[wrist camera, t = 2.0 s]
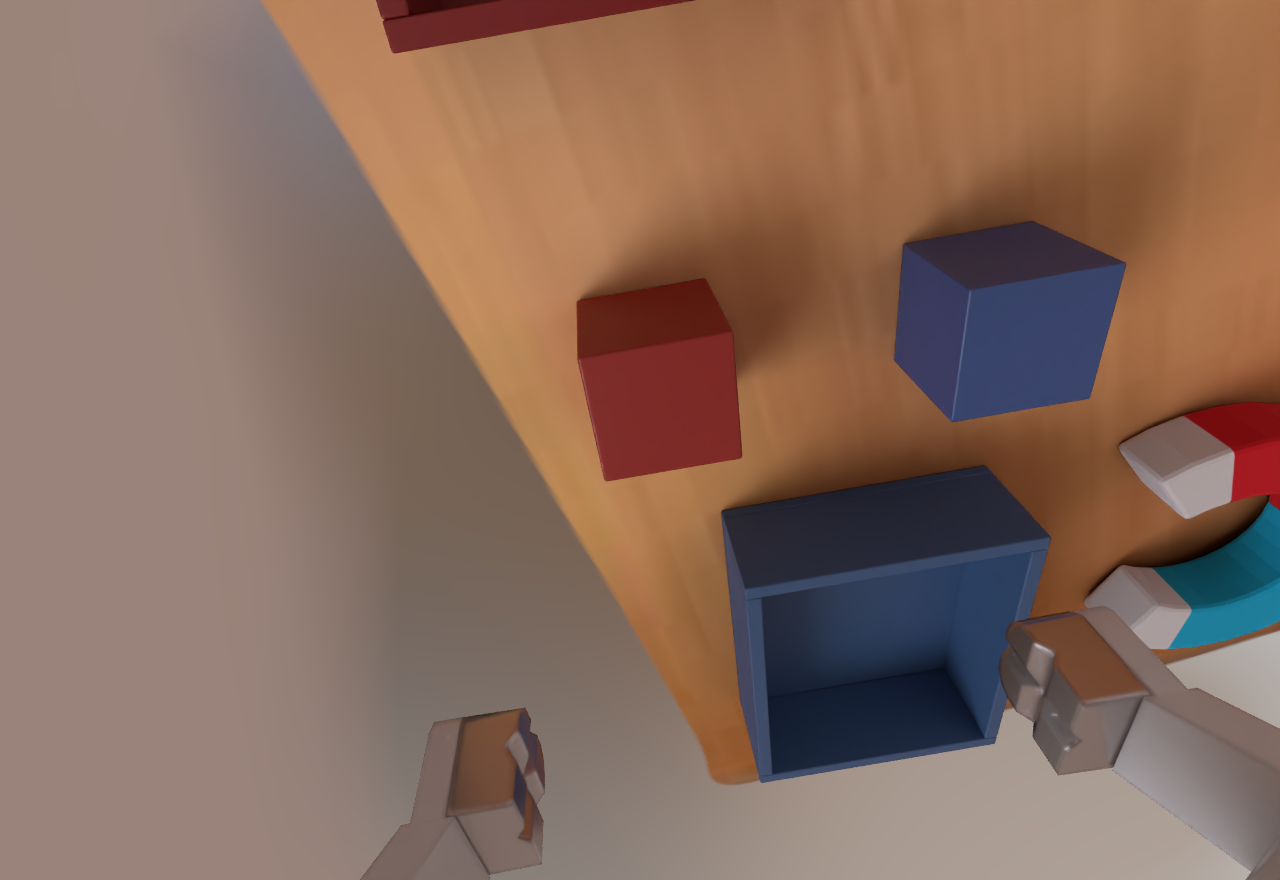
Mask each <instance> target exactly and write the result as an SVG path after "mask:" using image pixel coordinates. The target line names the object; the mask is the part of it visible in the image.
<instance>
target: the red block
mask: <svg viewBox="0 0 1280 880" xmlns="http://www.w3.org/2000/svg"><path fill="white" fill-rule="evenodd" d="M576 304H577V358H578V364H579V368H580V373H581V377H582V382H583V386H584V391H585V395H586V400H587V404H588V409H589V413H590V418H591V422H592V427H593V431H594V436H595V440H596V445H597V449H598V454H599V458H600V463H601V467H602V471H603V476H604V479H605V481H612V480H618V479H624V478H629V477H635V476H641V475H647V474H653V473H658V472H664V471H670V470H676V469H682V468H688V467H693V466H699V465H705V464H711V463H717V462H722V461H728V460H734V459H740V458H742V444H741V431H740V417H739V403H738V390H737V376H736V362H735V349H734V335H733V331H732V329H731V327H730V325H729V323H728V321H727V319H726V317H725V315H724V313H723V311H722V309H721V307H720V305H719V303H718V301H717V299H716V297H715V296H714V294H713V292H712V290H711V288H710V286H709V284H708V282H707V280H706V279H699V280H693V281H687V282H682V283H676V284H670V285H664V286H659V287H653V288H647V289H642V290H636V291H630V292H624V293H619V294H613V295H607V296H601V297H596V298H590V299H584V300H579V301H577V303H576Z"/></svg>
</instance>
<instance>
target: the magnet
mask: <svg viewBox="0 0 1280 880" xmlns="http://www.w3.org/2000/svg"><path fill="white" fill-rule="evenodd" d="M1119 450H1120V452H1121V453H1122V455H1123V456H1124V458H1125V459H1126V460H1127V462H1128V463H1129V465H1130V466H1131V467H1132V469H1133V470H1134V472H1135V473H1136V474H1137V476H1138V477H1139V479H1140V480H1141V481H1142V483H1144V484H1145V485H1146V486H1147V487H1148V488H1149V489H1150V490H1152V491H1153V492H1154V493H1155V494H1156V495H1157V496H1158V497H1160V498H1161V499H1162V500H1163V501H1164V502H1165V503H1166V504H1168V505H1169V506H1170V507H1171V508H1172V509H1173V510H1175V511H1176V512H1177V513H1178V514H1179V515H1180V516H1182V517H1184V518H1186V519H1189V518H1193V517H1195V516H1197V515H1199V514H1201V513H1203V512H1205V511H1207V510H1210V509H1213V508H1215V507H1218V506H1221V505H1224V504H1226V503H1229V502H1233V501H1237V500H1241V499H1245V498H1249V497H1253V496H1261V495H1269V494H1270V497H1269V501H1268V503H1267V505H1266V506H1265V508H1264V510H1263V512H1262V514H1261V515H1260V516H1259V517H1258V518H1257V519H1256V521H1255V522H1254V523H1253V524H1252V525H1251V526H1250V527H1249V528H1248V529H1247V530H1246V531H1245V532H1243V533H1242V534H1241V535H1240V536H1239V537H1237V538H1236V539H1234V540H1233V541H1231V542H1230V543H1228V544H1227V545H1225V546H1223V547H1222V548H1220V549H1218V550H1216V551H1214V552H1212V553H1209V554H1207V555H1205V556H1203V557H1200V558H1197V559H1194V560H1191V561H1188V562H1185V563H1180V564H1176V565H1171V566H1164V567H1152V568H1147V567H1132V566H1127V565H1121V566H1119V567H1118V568H1117V569H1116V570H1115V571H1114V572H1113V573H1112V574H1110V575H1109V576H1108V577H1107V578H1106V579H1105V580H1104V581H1103V582H1102V583H1101V584H1100V585H1099V586H1098V587H1097V588H1096V589H1095V590H1094V591H1093V592H1092V593H1091V594H1090V595H1089V596H1088V597H1087V598H1086V599H1085V600H1084V604H1085V605H1086V607H1087V608H1088V609H1089V608H1094V607H1101V606H1106V607H1108V608H1109V609H1111V610H1113V611H1114V612H1115V613H1116V614H1117V615H1118V616H1119V617H1120V618H1121V619H1122V620H1123V621H1124V622H1125V623H1126V624H1127V625H1128V626H1129V627H1130V629H1131V630H1132V631H1133V632H1134V633H1135V634H1136V635H1137V636H1138V637H1139V638H1140V639H1141V640H1142V641H1143V642H1144V643H1145V644H1146V645H1147V647H1148V648H1149V649H1175V648H1187V647H1196V646H1201V645H1206V644H1211V643H1216V642H1221V641H1226V640H1229V639H1232V638H1235V637H1239V636H1242V635H1245V634H1248V633H1251V632H1255V631H1258V630H1260V629H1262V628H1265V627H1267V626H1269V625H1272V624H1274V623H1276V622H1279V621H1280V403H1261V402H1246V403H1238V404H1230V405H1223V406H1216V407H1212V408H1208V409H1205V410H1201V411H1197V412H1194V413H1190V414H1186V415H1183V416H1180V417H1177V418H1175V419H1172V420H1170V421H1167V422H1165V423H1162V424H1160V425H1157V426H1155V427H1152V428H1150V429H1148V430H1146V431H1144V432H1142V433H1140V434H1138V435H1136V436H1134V437H1133V438H1131V439H1129V440H1127V441H1125V442H1123V443H1121V444H1120V445H1119Z"/></svg>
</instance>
